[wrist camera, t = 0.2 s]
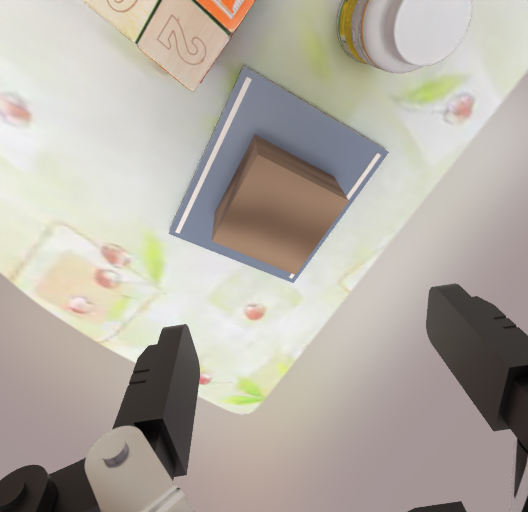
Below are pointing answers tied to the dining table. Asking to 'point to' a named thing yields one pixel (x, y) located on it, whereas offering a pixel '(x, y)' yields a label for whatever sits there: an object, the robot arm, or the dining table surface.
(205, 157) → the blueprint board
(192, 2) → the stack of blocks
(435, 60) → the supplement bottle
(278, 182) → the walnut plinth
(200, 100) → the dining table surface
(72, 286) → the dining table surface
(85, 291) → the dining table surface
